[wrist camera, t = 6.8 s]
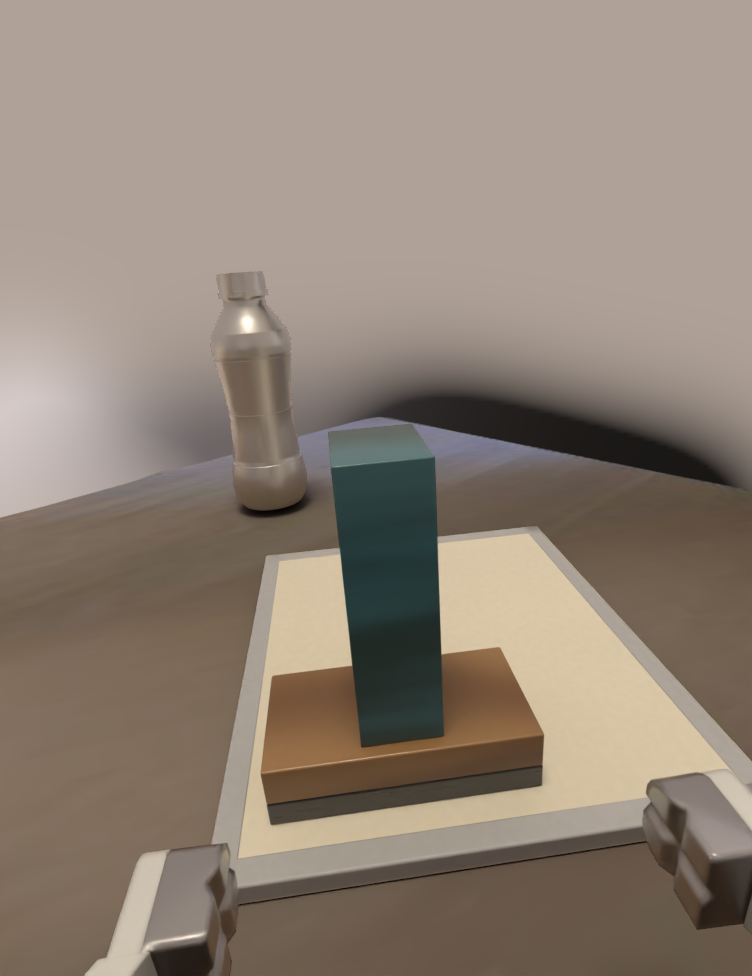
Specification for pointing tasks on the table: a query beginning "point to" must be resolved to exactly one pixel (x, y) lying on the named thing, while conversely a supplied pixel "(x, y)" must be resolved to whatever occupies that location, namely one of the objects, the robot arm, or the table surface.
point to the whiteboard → (546, 685)
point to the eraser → (393, 664)
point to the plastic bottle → (257, 394)
